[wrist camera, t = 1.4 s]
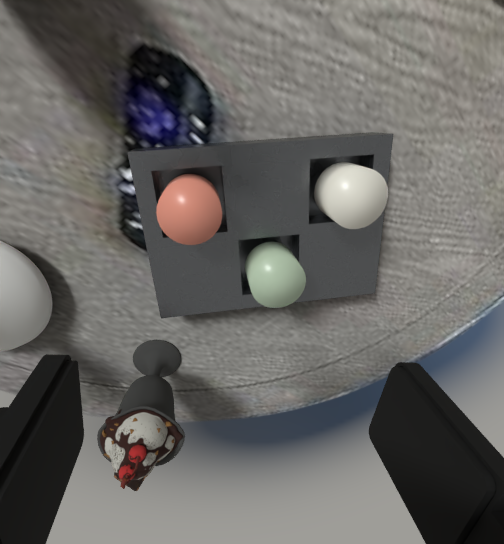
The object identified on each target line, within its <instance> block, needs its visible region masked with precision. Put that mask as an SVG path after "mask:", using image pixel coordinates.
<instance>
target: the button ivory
mask: <svg viewBox="0 0 504 544" xmlns="http://www.w3.org/2000/svg"><path fill="white" fill-rule="evenodd" d="M314 197H315V202H316V204H317V206H318V208H319V209H320V210H321V211H322V212H323V213H324V214H326V215H327V216H328V217H330V218H331V219H332V220H334V221H335V222H336V223H338V224H339V225H340V226H342V227H344V228H348V229H360V228H364V227H366V226H368V225H370V224H371V223H373V222H374V221H375V220H376V219H377V218H378V217H379V216H380V215H381V214H382V212H383V210H384V209H385V206H386V203H387V199H388V187H387V184H386V181H385V179H384V178H383V177H382V175H381V174H380V173H378V172H377V171H375V170H373V169H370V168H367V167H363V166H360V165H356V164H352V163H349V162H339V163H335V164H333V165H331V166H329V167H328V168H326V169H325V170H324V171H323V172H322V173H321V175H320V176H319V178H318V180H317V182H316V185H315V189H314Z"/></svg>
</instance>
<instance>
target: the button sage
mask: <svg viewBox="0 0 504 544" xmlns="http://www.w3.org/2000/svg"><path fill="white" fill-rule="evenodd" d="M245 272H246V275H247V279H248V282H249V286H250V289H251V293H252V295H253V297H254V298H255V299H256V301H257V302H259V303H260V304H262V305H264V306H266V307H270V308H281V307H285V306H288V305H290V304H292V303H293V302H295V301H296V300H297V299H298V298H299V297H300V296H301V294H302V292H303V291H304V288H305V284H306V276H305V272H304V270H303V268H302V267H301V265H300V264H299V262H298V261H297V259H296V258H295V256H294V255H293V253H292V252H291V250H290V249H289V248H288V247H287V246H285V245H283V244H281V243H278V242H265V243H262V244H260V245H258V246H256V247H255V248H254V249H253V250H252V251H251V252H250V253H249V255H248V256H247V259H246V262H245Z"/></svg>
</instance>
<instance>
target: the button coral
mask: <svg viewBox="0 0 504 544" xmlns="http://www.w3.org/2000/svg"><path fill="white" fill-rule="evenodd" d="M156 214H157V220H158V223H159V225H160V227H161V229H162V230H163V232H164V233H165V234H166V235H167V236H168V237H169V238H171V239H172V240H174V241H176V242H178V243H181V244H185V245H196V244H201V243H203V242H206V241H207V240H209V239H210V238H212V237H213V236H214V235H215V233H216V232H217V231H218V229H219V227H220V225H221V221H222V208H221V203H220V198H219V195H218V192H217V190H216V188H215V187H214V185H213V184H212V183H211V182H210V181H209V180H207V179H206V178H204V177H202V176H200V175H196V174H183V175H180V176H178V177H176V178H174V179H173V180H171V181H170V182H169V183H168V185H167V186H166V188H165V190H164V191H163V193H162V195H161V197H160V199H159V201H158V204H157V211H156Z"/></svg>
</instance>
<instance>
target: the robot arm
mask: <svg viewBox="0 0 504 544" xmlns="http://www.w3.org/2000/svg"><path fill="white" fill-rule="evenodd" d="M82 417H83V416H82V405H81V393H80V382H79V370H78V362H77V361H71V357H70V356H69V355H44V356H43V357H42V359H41V360H40V362H39V363H38V365H37V366H36V368H35V369H34V371H33V372H32V373H31V375H30V376H29V378H28V379H27V381H26V382H25V384H24V385H23V387H22V388H21V390H20V391H19V393H18V394H17V396H16V397H15V399H14V400H13V402H12V403H11V404H10V406H9V407H3V408H0V544H46V541H47V538H48V536H49V533H50V530H51V527H52V525H53V522H54V519H55V517H56V514H57V511H58V509H59V506H60V503H61V500H62V498H63V495H64V492H65V490H66V487H67V484H68V482H69V479H70V476H71V473H72V471H73V468H74V465H75V463H76V460H77V457H78V455H79V452H80V449H81V446H82V443H83V437H84V428H83V418H82ZM369 435H370V439H371V441H372V443H373V445H374V447H375V449H376V451H377V453H378V454H379V456H380V458H381V460H382V462H383V464H384V466H385V468H386V469H387V471H388V473H389V475H390V477H391V479H392V481H393V483H394V484H395V486H396V488H397V490H398V492H399V494H400V496H401V498H402V500H403V501H404V503H405V505H406V507H407V509H408V511H409V513H410V514H411V516H412V518H413V520H414V522H415V524H416V526H417V528H418V529H419V531H420V533H421V535H422V537H423V539H424V541H425V543H426V544H504V458H503V457H502V456H501V454H500V453H499V452H498V451H497V450H496V449H495V448H494V447H493V445H492V444H491V443H490V442H489V441H488V440H487V439H486V438H485V437H484V435H482V433H481V432H480V431H479V430H478V429H477V428H476V427H475V426H474V424H473V423H472V422H471V421H470V420H469V419H468V418H467V417H466V416H465V414H464V413H463V412H462V411H461V410H460V409H459V408H458V407H457V405H456V404H455V403H454V402H453V401H452V400H451V399H450V398H449V397H448V396H447V394H446V393H445V392H444V391H443V390H442V389H441V388H440V387H439V385H438V384H437V383H436V382H435V381H434V380H433V379H432V378H431V377H430V376H429V374H428V373H427V372H426V371H425V370H424V369H423V368H422V367H421V366H420V365H419V364H418V363H405V362H400V363H397V364H396V366H395V367H393V368H392V369H391V371H390V373H389V376H388V379H387V381H386V384H385V387H384V389H383V392H382V395H381V397H380V400H379V403H378V405H377V408H376V411H375V413H374V416H373V418H372V421H371V424H370V427H369Z"/></svg>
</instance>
